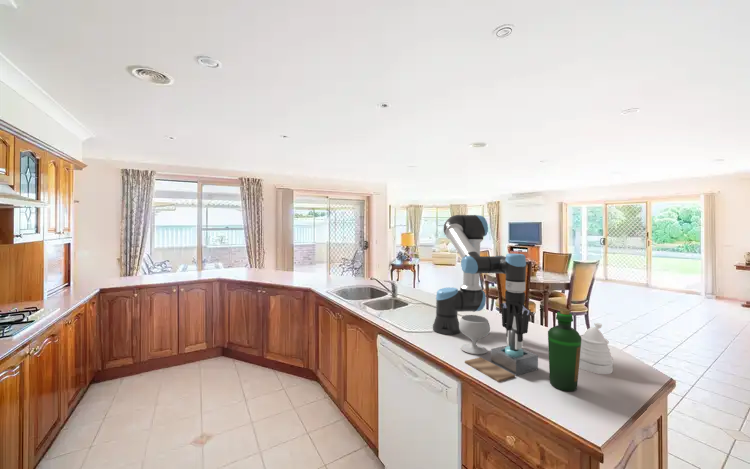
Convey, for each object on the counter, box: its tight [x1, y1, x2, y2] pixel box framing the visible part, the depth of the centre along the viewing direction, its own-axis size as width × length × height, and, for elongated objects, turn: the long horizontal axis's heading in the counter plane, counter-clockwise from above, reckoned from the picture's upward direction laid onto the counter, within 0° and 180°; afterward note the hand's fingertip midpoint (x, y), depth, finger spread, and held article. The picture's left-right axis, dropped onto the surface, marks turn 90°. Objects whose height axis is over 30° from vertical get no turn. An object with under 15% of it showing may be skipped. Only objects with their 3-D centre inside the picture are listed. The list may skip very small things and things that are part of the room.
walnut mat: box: [464, 356, 516, 383], centre depth 125 cm, size 18×9×1 cm, turn 25°
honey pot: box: [579, 322, 614, 375], centre depth 128 cm, size 13×13×18 cm
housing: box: [490, 345, 539, 377], centre depth 128 cm, size 13×13×6 cm
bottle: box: [547, 308, 581, 392], centre depth 112 cm, size 11×11×28 cm
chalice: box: [459, 314, 491, 355], centre depth 145 cm, size 14×14×15 cm
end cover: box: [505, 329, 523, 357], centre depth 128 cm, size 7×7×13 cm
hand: (514, 347), depth 128 cm, fingers closed on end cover, 3 cm apart
